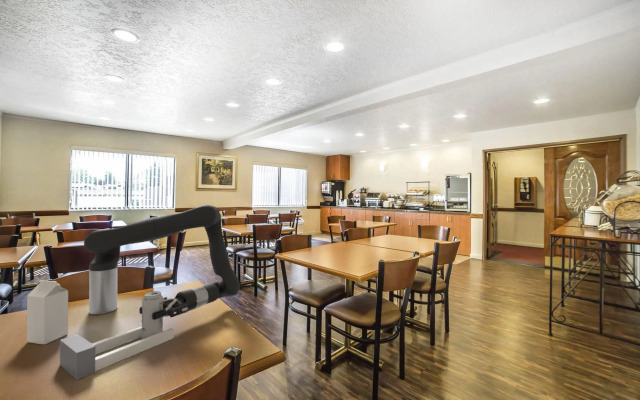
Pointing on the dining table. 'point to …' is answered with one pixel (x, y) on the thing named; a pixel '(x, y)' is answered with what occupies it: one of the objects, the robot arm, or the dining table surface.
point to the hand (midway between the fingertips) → (146, 313)
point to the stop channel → (81, 353)
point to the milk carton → (47, 312)
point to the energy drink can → (150, 305)
